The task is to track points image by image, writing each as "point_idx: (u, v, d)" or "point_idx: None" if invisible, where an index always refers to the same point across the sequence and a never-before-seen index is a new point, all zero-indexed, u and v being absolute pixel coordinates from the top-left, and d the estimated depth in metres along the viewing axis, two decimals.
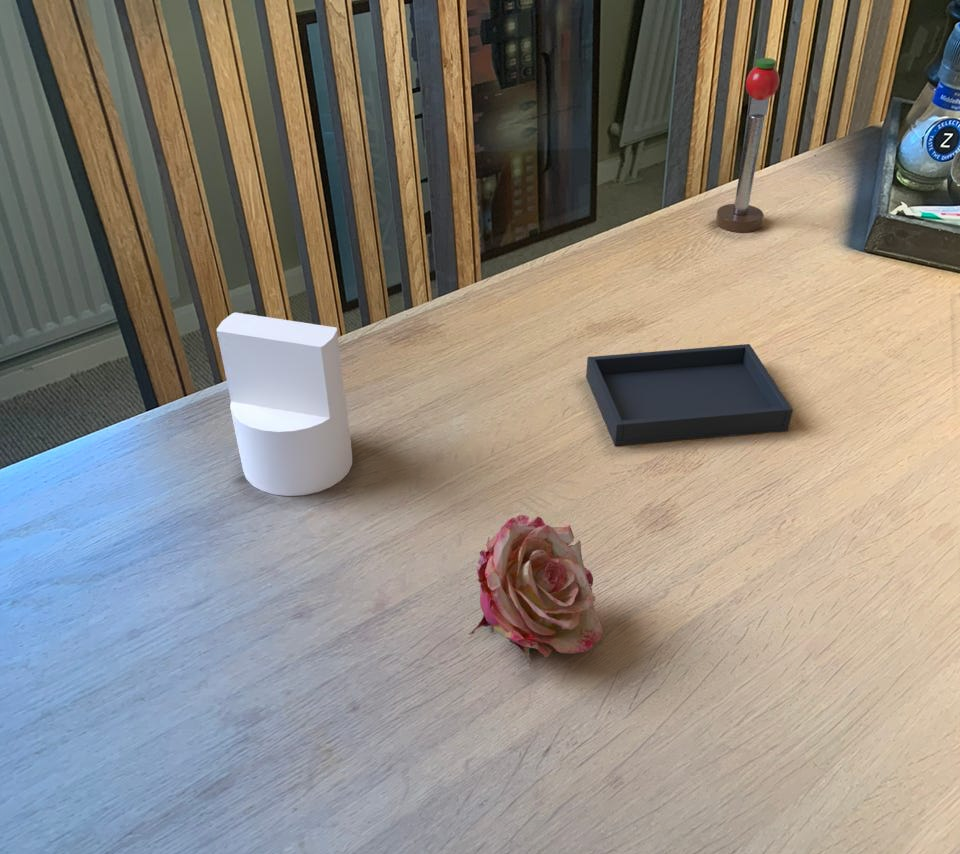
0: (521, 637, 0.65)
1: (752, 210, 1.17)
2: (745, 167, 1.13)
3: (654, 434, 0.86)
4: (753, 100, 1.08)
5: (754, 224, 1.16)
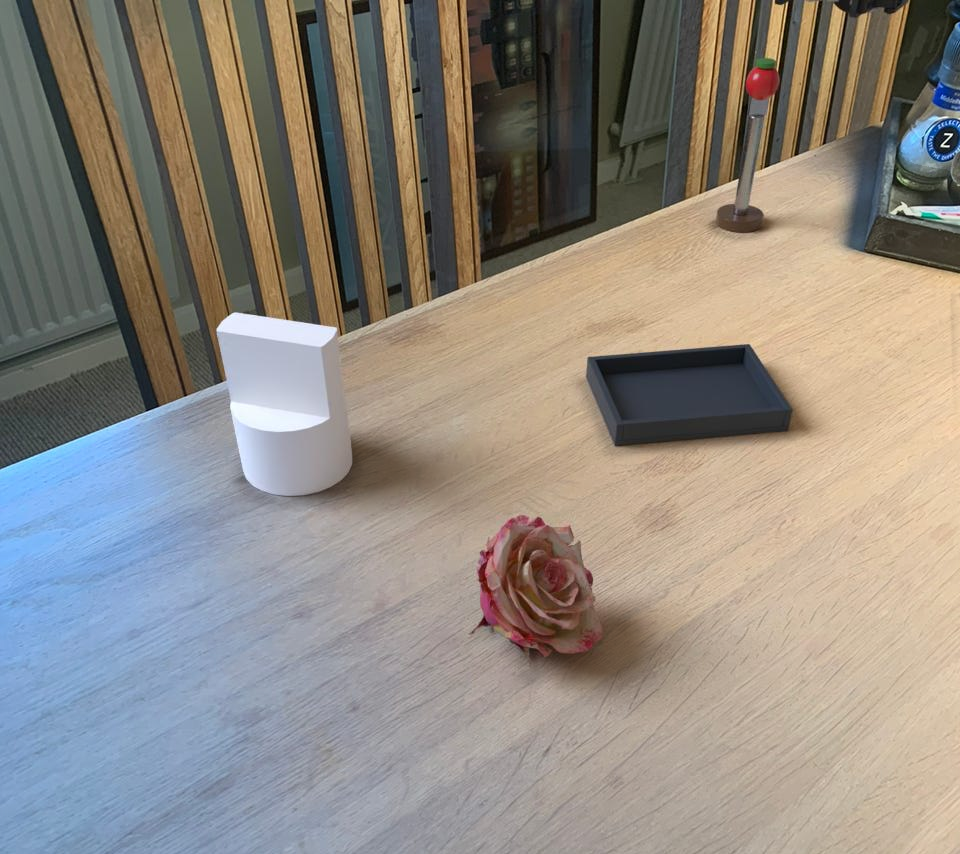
0: (521, 637, 0.65)
1: (752, 210, 1.17)
2: (745, 167, 1.13)
3: (654, 434, 0.86)
4: (753, 100, 1.08)
5: (754, 224, 1.16)
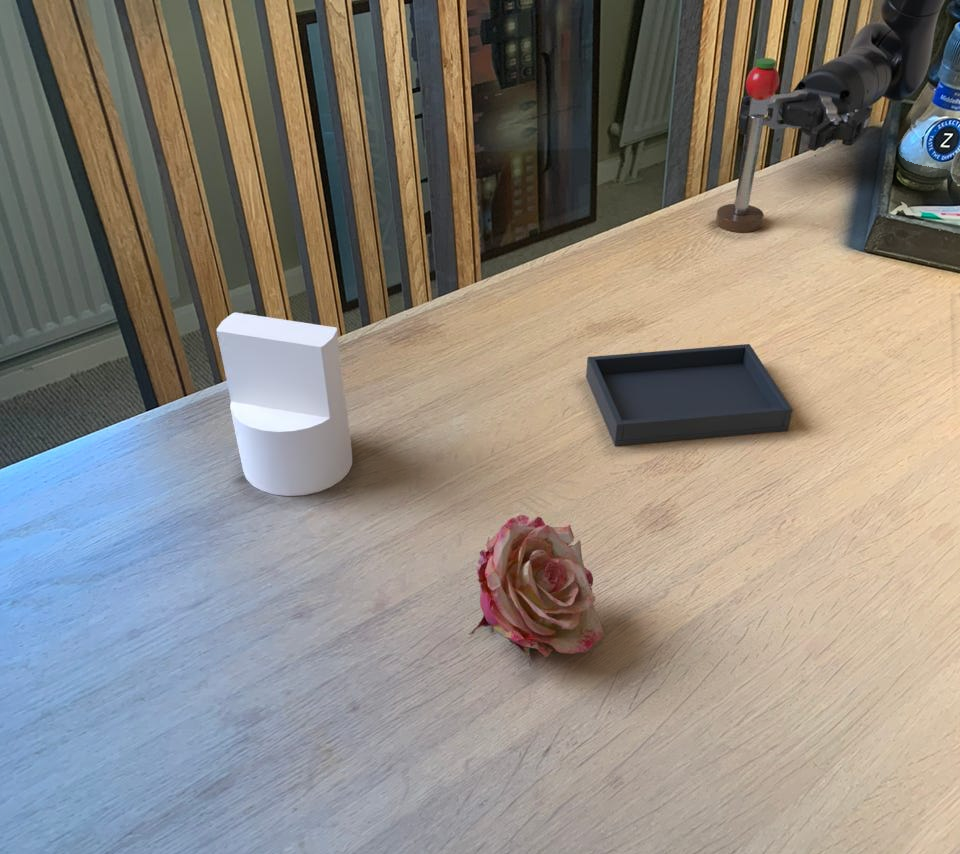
0: (521, 637, 0.65)
1: (752, 210, 1.17)
2: (745, 167, 1.13)
3: (654, 434, 0.86)
4: (753, 100, 1.08)
5: (754, 224, 1.16)
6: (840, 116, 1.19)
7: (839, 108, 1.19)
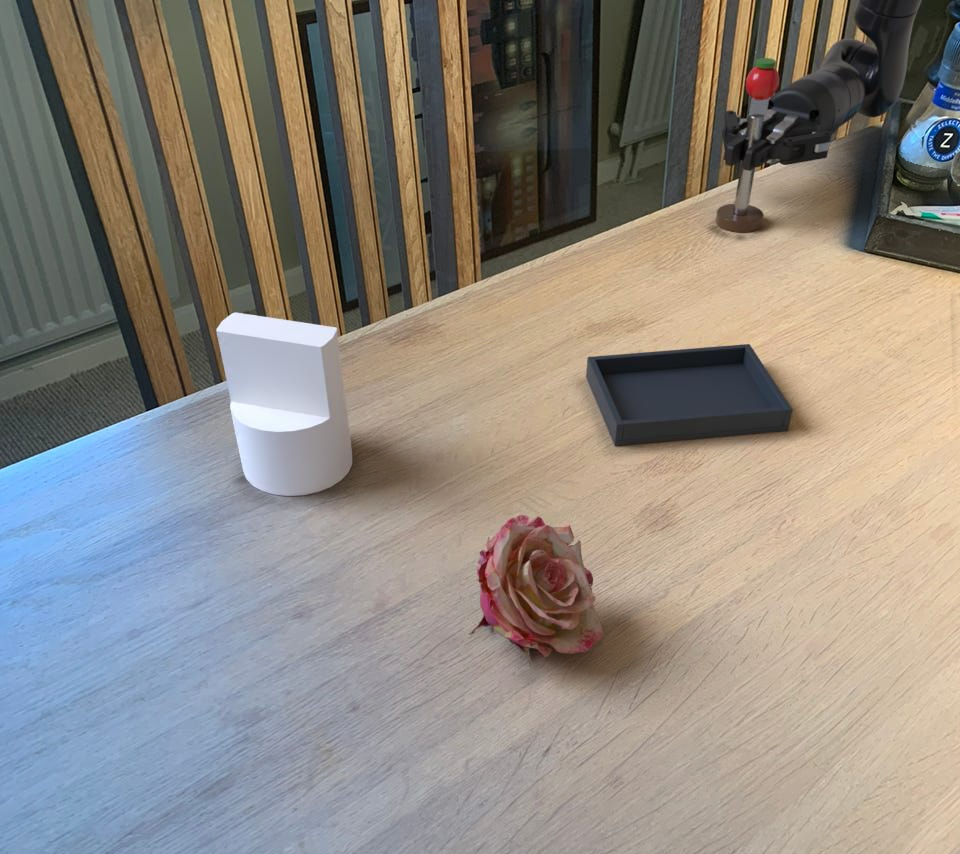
0: (521, 637, 0.65)
1: (752, 210, 1.17)
2: None
3: (654, 434, 0.86)
4: (753, 100, 1.08)
5: (754, 224, 1.16)
6: None
7: (808, 129, 1.14)
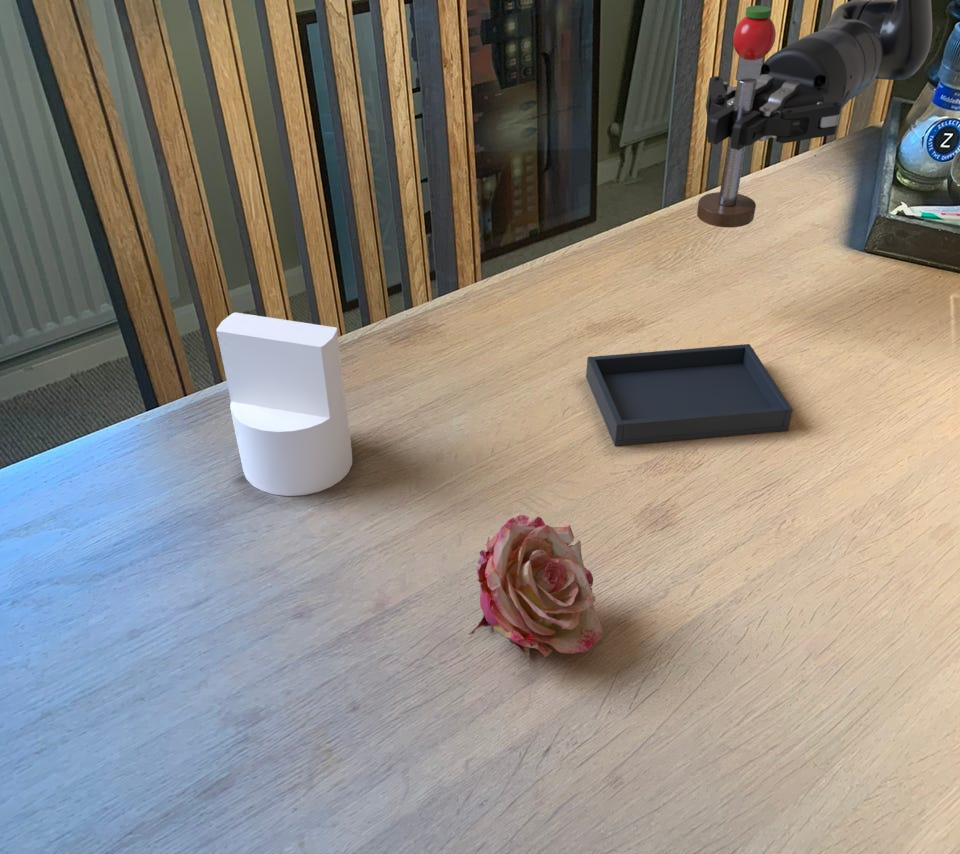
0: (521, 637, 0.65)
1: (742, 201, 0.95)
2: None
3: (654, 434, 0.86)
4: (742, 60, 0.86)
5: (744, 217, 0.93)
6: None
7: (812, 98, 0.91)
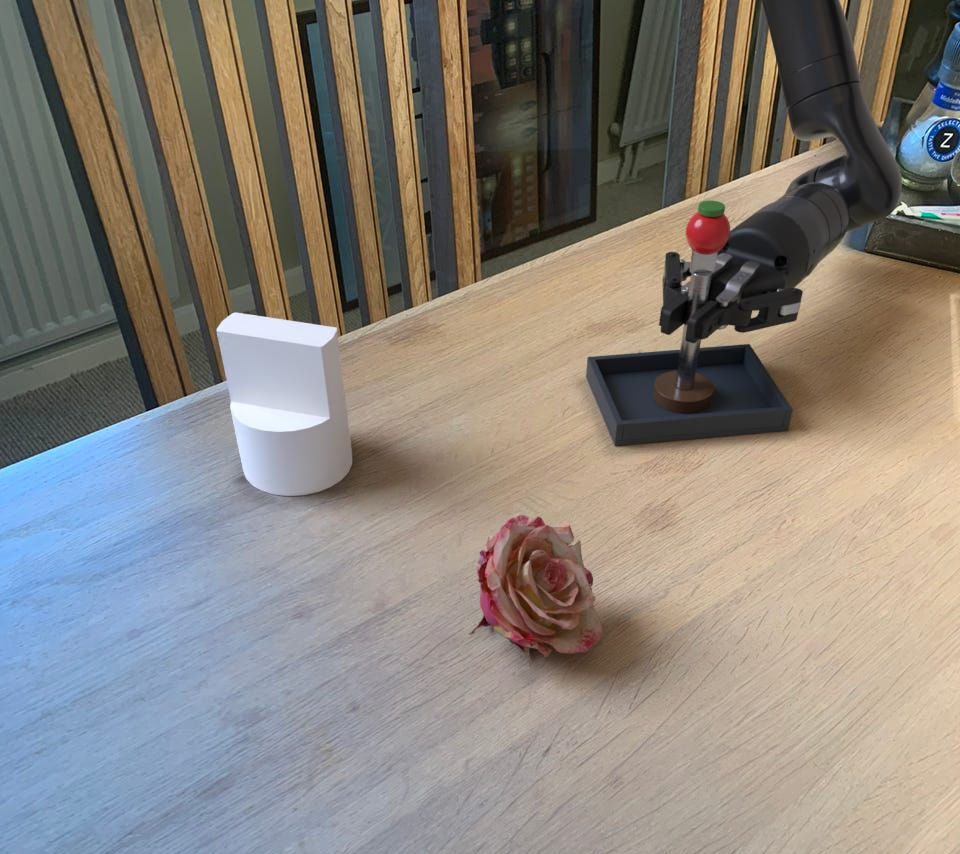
0: (521, 637, 0.65)
1: (700, 382, 0.90)
2: None
3: (654, 434, 0.86)
4: (696, 254, 0.81)
5: (702, 403, 0.88)
6: (769, 291, 0.88)
7: (772, 282, 0.87)
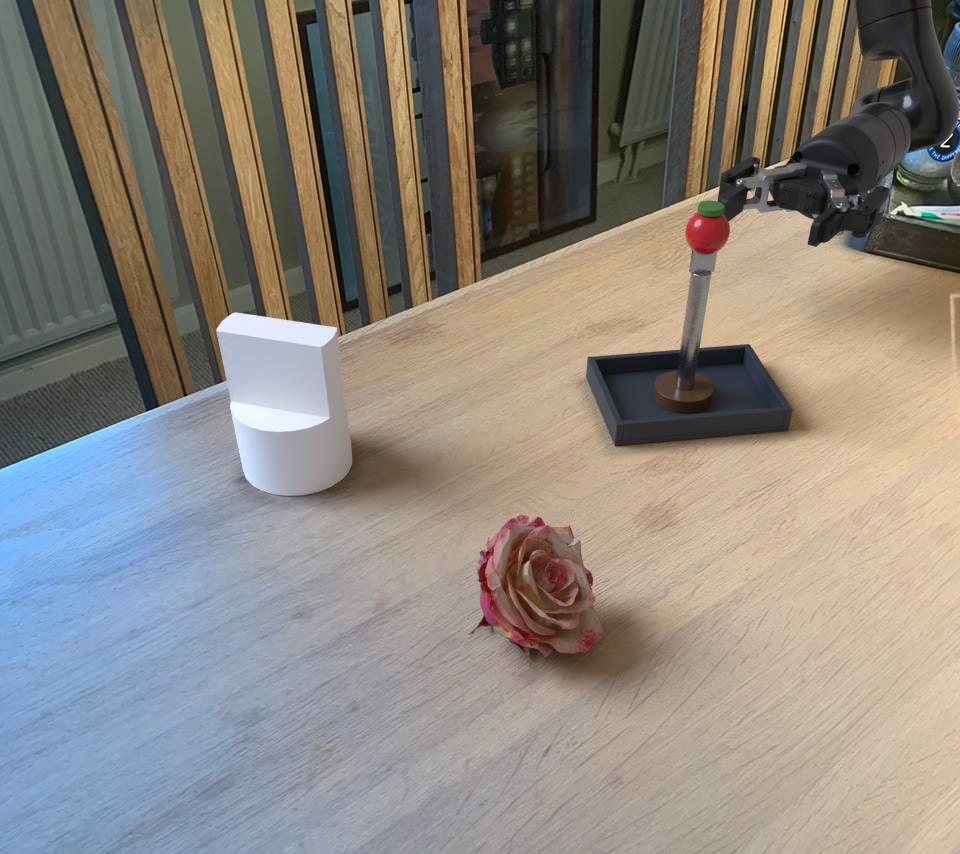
0: (521, 637, 0.65)
1: (700, 382, 0.90)
2: (688, 334, 0.86)
3: (654, 434, 0.86)
4: (695, 254, 0.81)
5: (702, 403, 0.88)
6: (848, 197, 0.93)
7: (846, 188, 0.92)
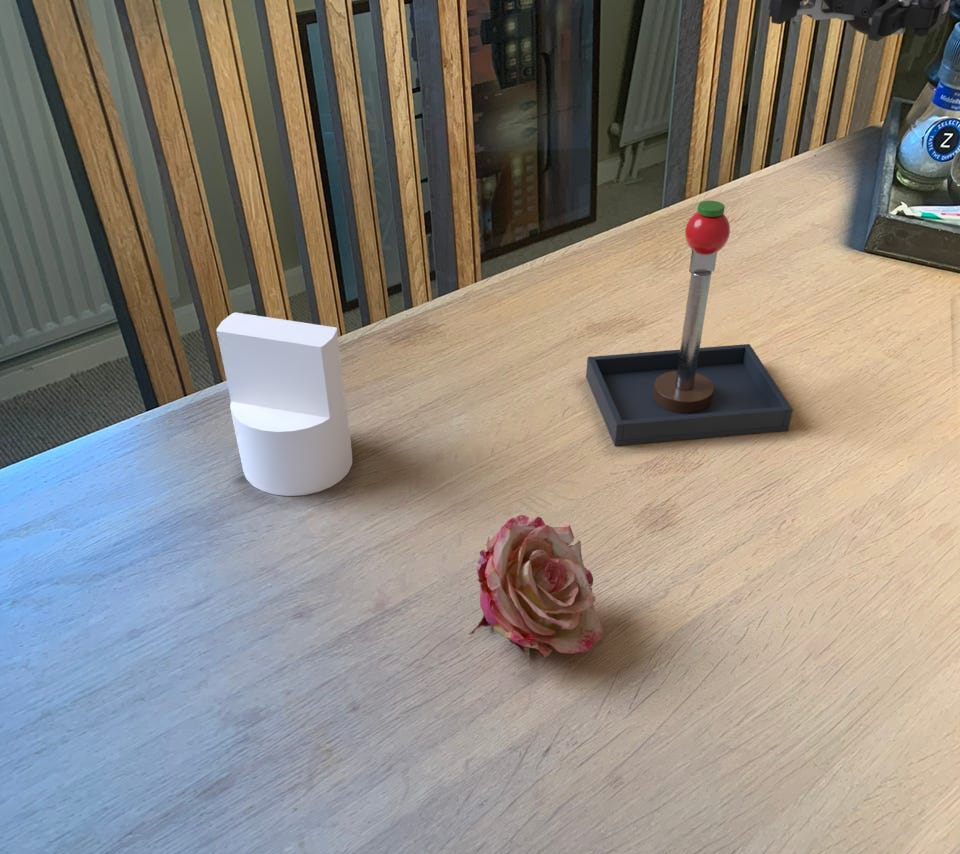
0: (521, 637, 0.65)
1: (700, 382, 0.90)
2: (688, 334, 0.86)
3: (654, 434, 0.86)
4: (695, 254, 0.81)
5: (702, 403, 0.88)
6: None
7: None
